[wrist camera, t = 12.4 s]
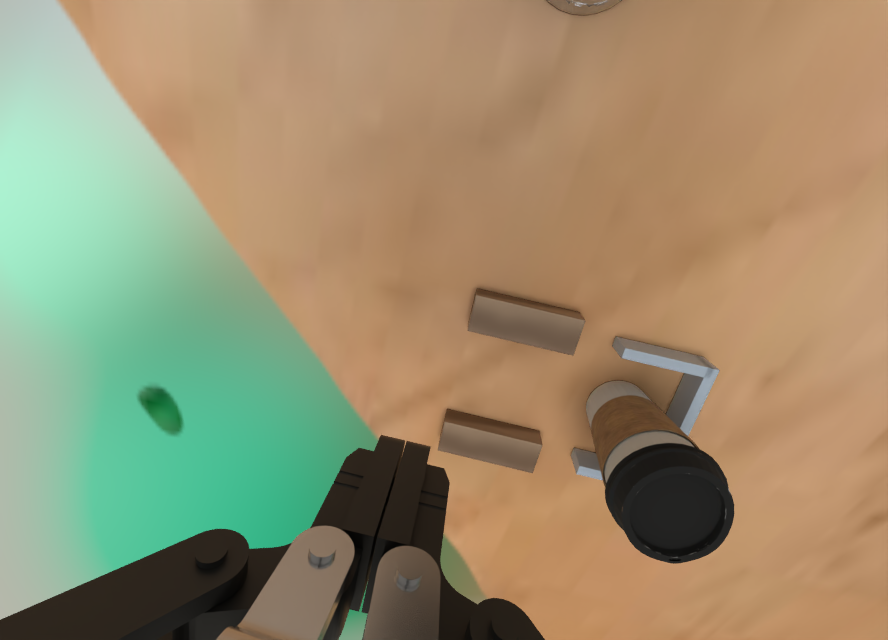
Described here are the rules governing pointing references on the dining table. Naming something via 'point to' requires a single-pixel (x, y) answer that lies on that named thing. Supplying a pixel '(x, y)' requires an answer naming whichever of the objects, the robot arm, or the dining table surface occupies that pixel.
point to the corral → (685, 399)
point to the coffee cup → (657, 477)
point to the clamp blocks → (520, 326)
